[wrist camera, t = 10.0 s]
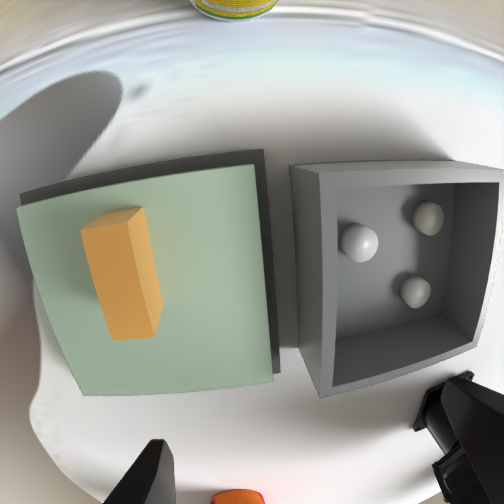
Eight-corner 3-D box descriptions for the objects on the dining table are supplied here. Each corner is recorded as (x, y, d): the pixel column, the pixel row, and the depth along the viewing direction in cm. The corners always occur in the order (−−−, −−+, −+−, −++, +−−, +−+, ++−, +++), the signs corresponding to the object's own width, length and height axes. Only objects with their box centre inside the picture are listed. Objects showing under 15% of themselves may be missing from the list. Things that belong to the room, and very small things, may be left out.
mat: (277, 363, 21) (280, 372, 20) (89, 380, 20) (85, 388, 19) (260, 149, 16) (263, 149, 15) (28, 191, 15) (19, 194, 14)
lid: (268, 363, 20) (282, 416, 15) (90, 378, 19) (71, 427, 14) (249, 163, 16) (265, 169, 11) (32, 201, 14) (-17, 222, 10)
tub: (439, 314, 22) (476, 346, 17) (298, 348, 21) (319, 398, 16) (454, 160, 18) (506, 170, 13) (289, 165, 17) (318, 173, 12)
